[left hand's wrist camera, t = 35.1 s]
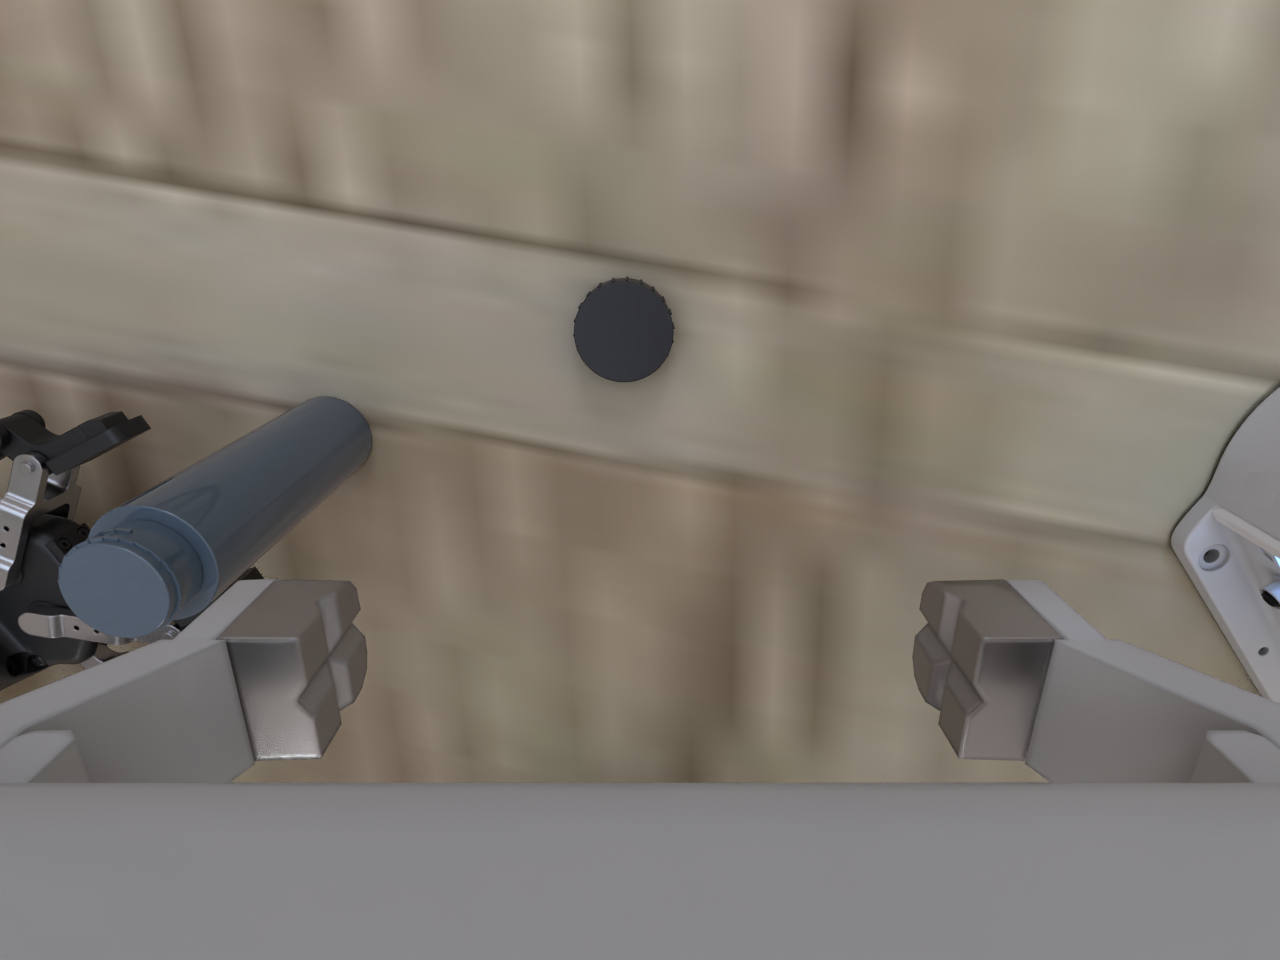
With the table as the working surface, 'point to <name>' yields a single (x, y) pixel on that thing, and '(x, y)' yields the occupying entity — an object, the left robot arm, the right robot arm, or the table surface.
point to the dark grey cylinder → (210, 520)
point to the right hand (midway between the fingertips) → (195, 506)
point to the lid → (623, 330)
